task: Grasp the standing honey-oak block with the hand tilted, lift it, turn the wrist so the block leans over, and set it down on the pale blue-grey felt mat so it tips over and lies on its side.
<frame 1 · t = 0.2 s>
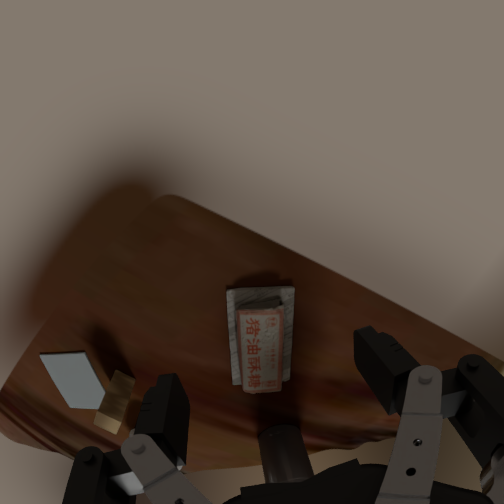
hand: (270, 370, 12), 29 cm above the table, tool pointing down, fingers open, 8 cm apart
packaged product: (260, 336, 45), on the table
felt mat: (76, 382, 43), on the table
oak block: (122, 381, 44), on the table
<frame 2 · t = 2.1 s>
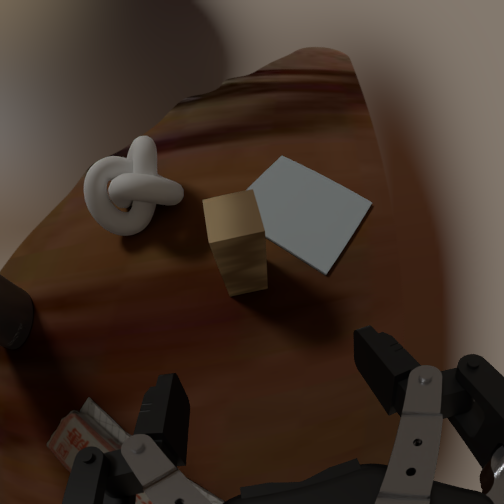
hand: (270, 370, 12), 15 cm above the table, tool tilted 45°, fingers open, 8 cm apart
white decorative knot: (142, 211, 36), on the table
packaged product: (132, 479, 21), on the table
felt mat: (301, 207, 34), on the table
oak block: (245, 275, 31), on the table
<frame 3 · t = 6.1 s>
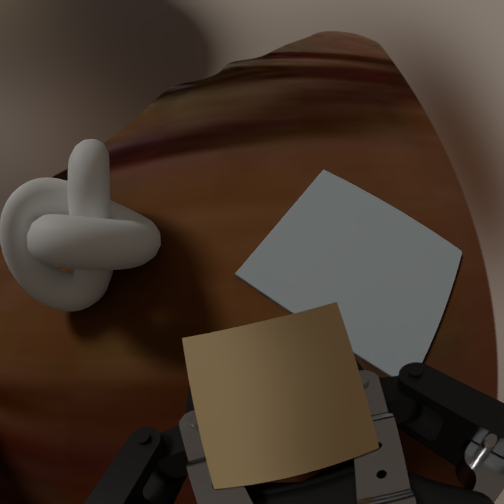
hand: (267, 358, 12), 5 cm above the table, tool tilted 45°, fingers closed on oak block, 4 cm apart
white decorative knot: (98, 264, 21), on the table
felt mat: (365, 264, 19), on the table
oak block: (275, 398, 15), on the table, touching gripper
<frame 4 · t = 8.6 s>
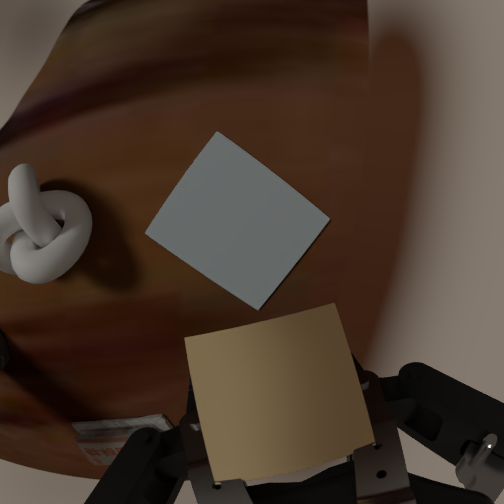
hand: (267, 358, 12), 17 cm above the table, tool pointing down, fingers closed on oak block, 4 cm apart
white decorative knot: (53, 225, 26), on the table
packaged product: (129, 436, 35), on the table
felt mat: (238, 224, 28), on the table
oak block: (275, 398, 16), point 15 cm above the table, tilted 45°, touching gripper
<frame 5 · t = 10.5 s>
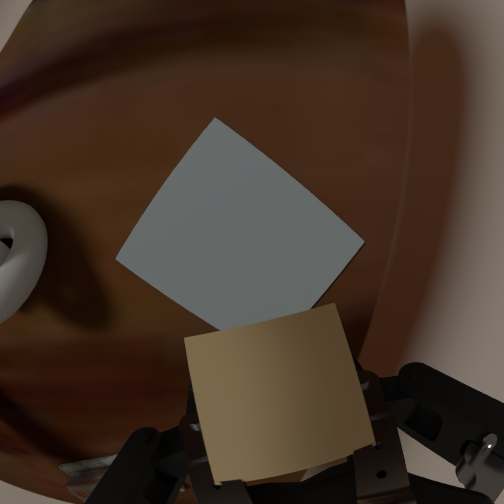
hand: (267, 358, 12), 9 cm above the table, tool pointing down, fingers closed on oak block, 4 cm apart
white decorative knot: (8, 243, 18), on the table
packaged product: (117, 473, 27), on the table
felt mat: (242, 248, 20), on the table
oak block: (275, 398, 16), point 7 cm above the table, tilted 45°, touching gripper
when the fingers open (4 cm above the table, at t = 12.0 s): oak block moves 1 cm and tips over, resting on felt mat.
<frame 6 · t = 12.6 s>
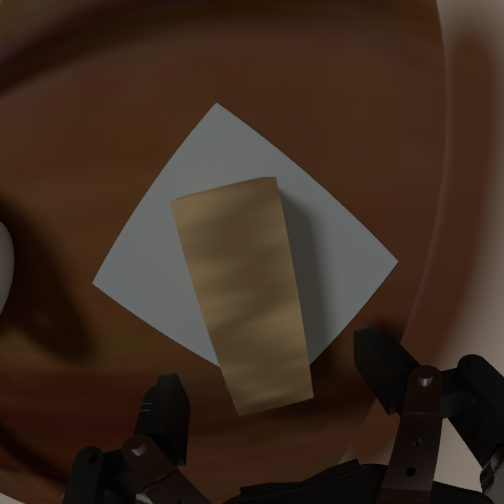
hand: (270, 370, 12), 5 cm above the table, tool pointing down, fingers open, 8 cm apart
felt mat: (250, 272, 16), on the table
oak block: (270, 384, 15), point 2 cm above the table, tilted 90°, touching felt mat
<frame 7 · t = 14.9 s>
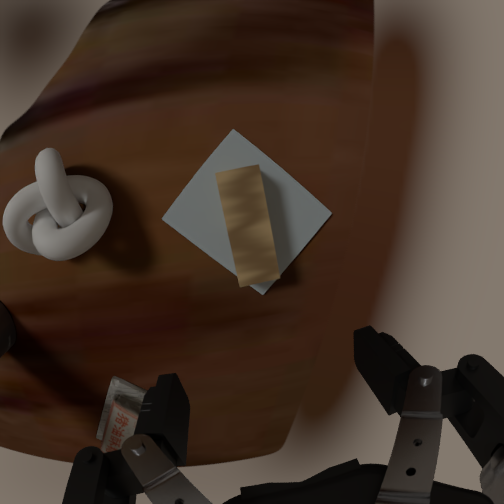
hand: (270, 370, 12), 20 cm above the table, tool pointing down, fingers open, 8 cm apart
white decorative knot: (72, 209, 28), on the table
packaged product: (132, 419, 37), on the table
felt mat: (248, 214, 30), on the table
oak block: (257, 276, 30), point 2 cm above the table, tilted 90°, touching felt mat
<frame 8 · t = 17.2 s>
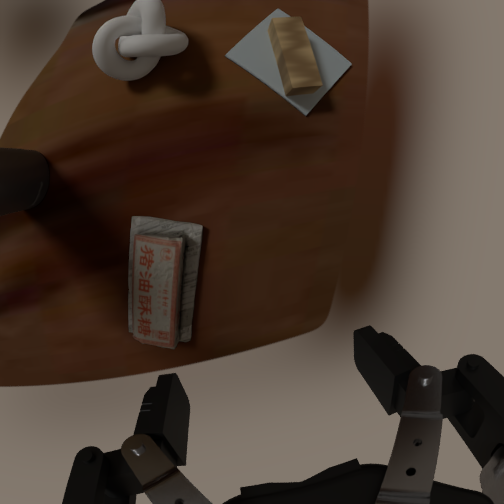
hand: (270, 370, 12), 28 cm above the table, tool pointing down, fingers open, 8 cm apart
white decorative knot: (144, 54, 31), on the table
packaged product: (163, 280, 40), on the table
felt mat: (291, 57, 33), on the table
oak block: (303, 90, 32), point 2 cm above the table, tilted 90°, touching felt mat
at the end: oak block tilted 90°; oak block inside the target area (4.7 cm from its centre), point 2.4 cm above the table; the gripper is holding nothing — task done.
